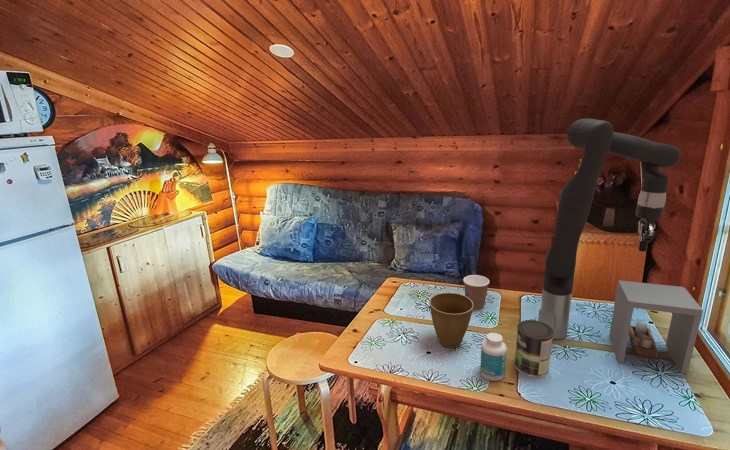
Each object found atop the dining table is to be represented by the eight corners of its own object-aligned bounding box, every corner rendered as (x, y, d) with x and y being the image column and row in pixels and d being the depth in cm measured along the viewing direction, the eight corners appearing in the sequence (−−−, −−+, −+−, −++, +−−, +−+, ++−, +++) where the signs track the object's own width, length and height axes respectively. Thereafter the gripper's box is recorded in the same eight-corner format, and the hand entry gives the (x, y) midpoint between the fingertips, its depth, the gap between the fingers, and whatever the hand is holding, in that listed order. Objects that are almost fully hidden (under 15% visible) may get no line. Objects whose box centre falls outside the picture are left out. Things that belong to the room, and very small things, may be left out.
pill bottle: (506, 383, 117) (509, 345, 113) (481, 381, 118) (483, 343, 114) (503, 367, 124) (505, 330, 120) (479, 365, 125) (480, 329, 121)
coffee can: (521, 378, 118) (524, 338, 114) (509, 357, 128) (512, 320, 124) (555, 377, 118) (559, 337, 114) (541, 356, 128) (545, 319, 124)
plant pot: (433, 356, 131) (433, 314, 126) (426, 331, 145) (426, 293, 140) (477, 354, 131) (479, 312, 126) (465, 329, 145) (467, 291, 140)
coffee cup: (460, 300, 166) (461, 274, 162) (485, 300, 165) (486, 274, 161) (464, 312, 156) (465, 286, 153) (490, 312, 155) (492, 285, 152)
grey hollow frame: (609, 336, 136) (618, 280, 130) (671, 345, 130) (684, 287, 123) (617, 362, 123) (628, 301, 116) (687, 374, 117) (703, 310, 110)
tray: (627, 332, 138) (630, 319, 136) (648, 336, 136) (650, 322, 134) (634, 355, 126) (636, 341, 125) (656, 359, 124) (659, 345, 122)
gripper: (633, 198, 139) (625, 243, 145) (643, 208, 128) (634, 256, 133) (658, 199, 137) (649, 245, 142) (670, 209, 125) (660, 258, 130)
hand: (641, 250), depth 137 cm, fingers closed
